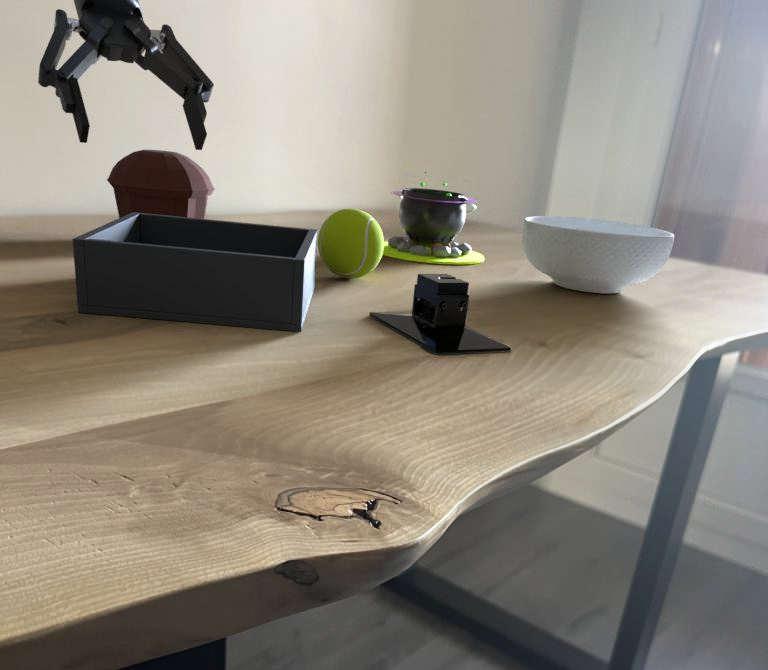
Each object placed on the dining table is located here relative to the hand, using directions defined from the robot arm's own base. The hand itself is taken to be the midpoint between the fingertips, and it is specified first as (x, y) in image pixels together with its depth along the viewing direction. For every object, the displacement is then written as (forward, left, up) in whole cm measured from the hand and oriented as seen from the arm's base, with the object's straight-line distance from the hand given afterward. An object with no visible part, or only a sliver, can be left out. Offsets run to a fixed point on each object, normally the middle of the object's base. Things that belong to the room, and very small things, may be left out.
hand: (145, 138), depth 95 cm
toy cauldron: (+35, +7, -11) cm, 37 cm away
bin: (+13, -31, -11) cm, 36 cm away
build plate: (+33, -36, -11) cm, 50 cm away
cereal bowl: (+53, -7, -11) cm, 55 cm away
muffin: (+3, -5, -11) cm, 13 cm away
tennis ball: (+25, -15, -11) cm, 31 cm away
